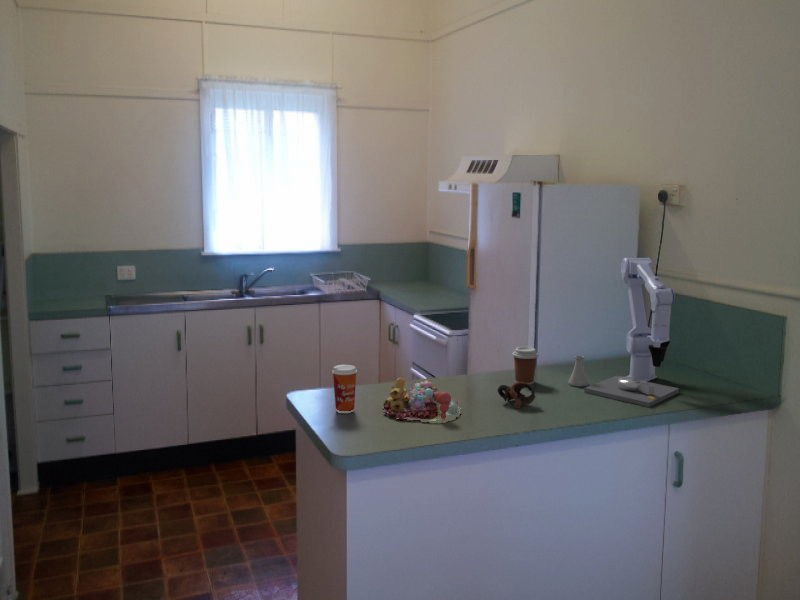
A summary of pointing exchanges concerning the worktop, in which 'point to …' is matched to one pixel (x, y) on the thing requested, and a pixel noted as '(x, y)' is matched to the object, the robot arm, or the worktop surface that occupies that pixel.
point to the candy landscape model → (419, 402)
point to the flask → (578, 374)
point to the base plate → (631, 392)
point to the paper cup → (344, 386)
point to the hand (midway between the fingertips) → (658, 363)
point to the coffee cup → (525, 364)
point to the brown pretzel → (516, 393)
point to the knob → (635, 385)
